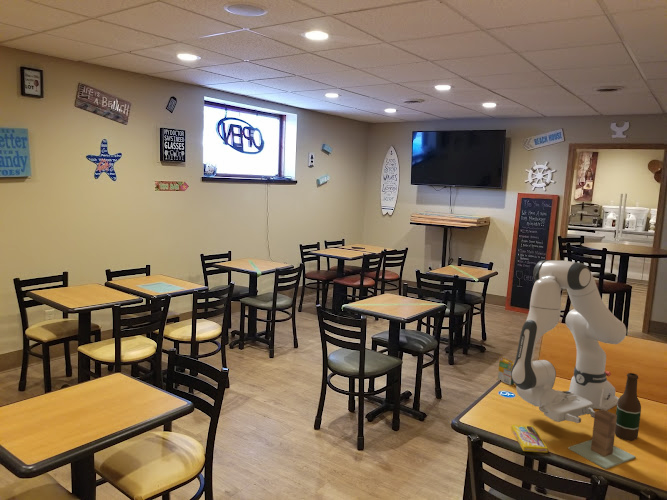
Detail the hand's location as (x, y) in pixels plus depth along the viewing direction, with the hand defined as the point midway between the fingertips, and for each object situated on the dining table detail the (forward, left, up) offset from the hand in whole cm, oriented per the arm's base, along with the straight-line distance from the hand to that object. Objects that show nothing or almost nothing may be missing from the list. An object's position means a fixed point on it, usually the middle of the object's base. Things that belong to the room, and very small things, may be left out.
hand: (588, 418), depth 179 cm
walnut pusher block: (0, +6, -9) cm, 11 cm away
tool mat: (0, +6, -10) cm, 12 cm away
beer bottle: (-20, +2, -10) cm, 22 cm away
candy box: (+13, -8, -9) cm, 18 cm away
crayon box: (-18, -54, -10) cm, 58 cm away
